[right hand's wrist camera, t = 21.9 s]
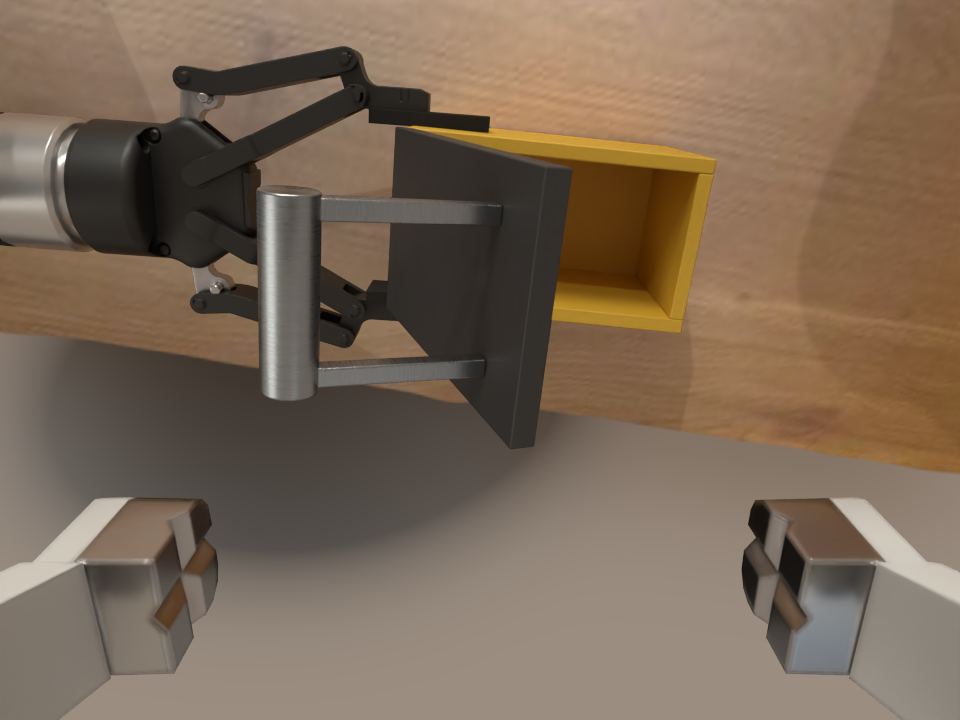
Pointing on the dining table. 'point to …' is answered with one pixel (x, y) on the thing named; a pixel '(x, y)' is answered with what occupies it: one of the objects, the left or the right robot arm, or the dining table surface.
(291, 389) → the lid
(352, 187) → the dining table surface
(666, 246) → the chest
